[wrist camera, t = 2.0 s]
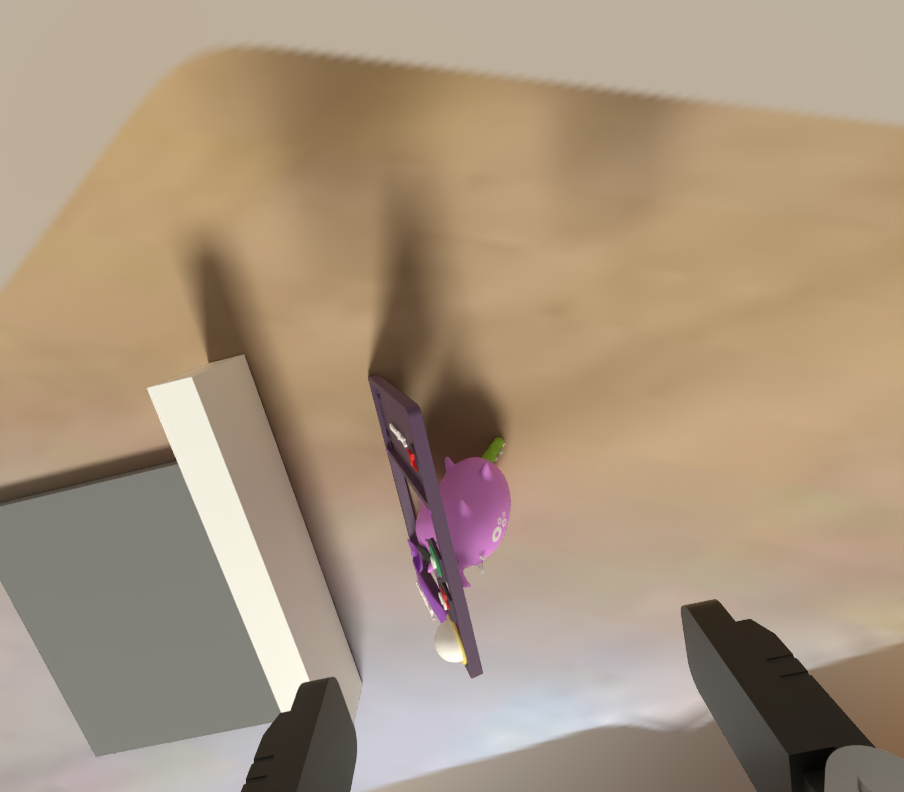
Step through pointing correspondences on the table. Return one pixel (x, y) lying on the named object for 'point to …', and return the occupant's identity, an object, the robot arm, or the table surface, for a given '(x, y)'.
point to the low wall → (256, 526)
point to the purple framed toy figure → (444, 517)
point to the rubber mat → (132, 610)
